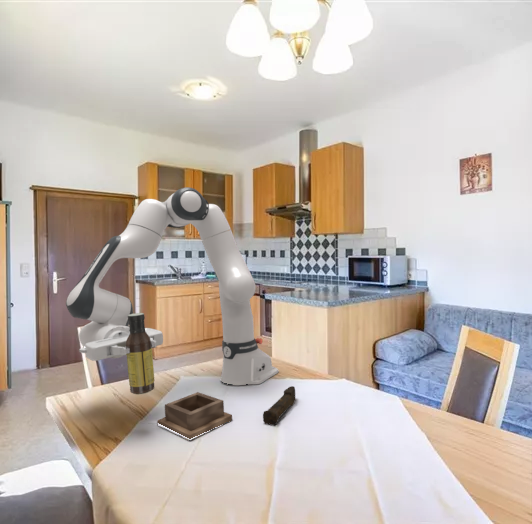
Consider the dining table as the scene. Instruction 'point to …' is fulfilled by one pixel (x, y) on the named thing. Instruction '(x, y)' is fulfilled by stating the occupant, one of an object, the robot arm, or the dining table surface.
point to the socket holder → (194, 415)
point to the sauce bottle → (139, 356)
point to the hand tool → (279, 407)
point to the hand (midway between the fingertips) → (141, 348)
